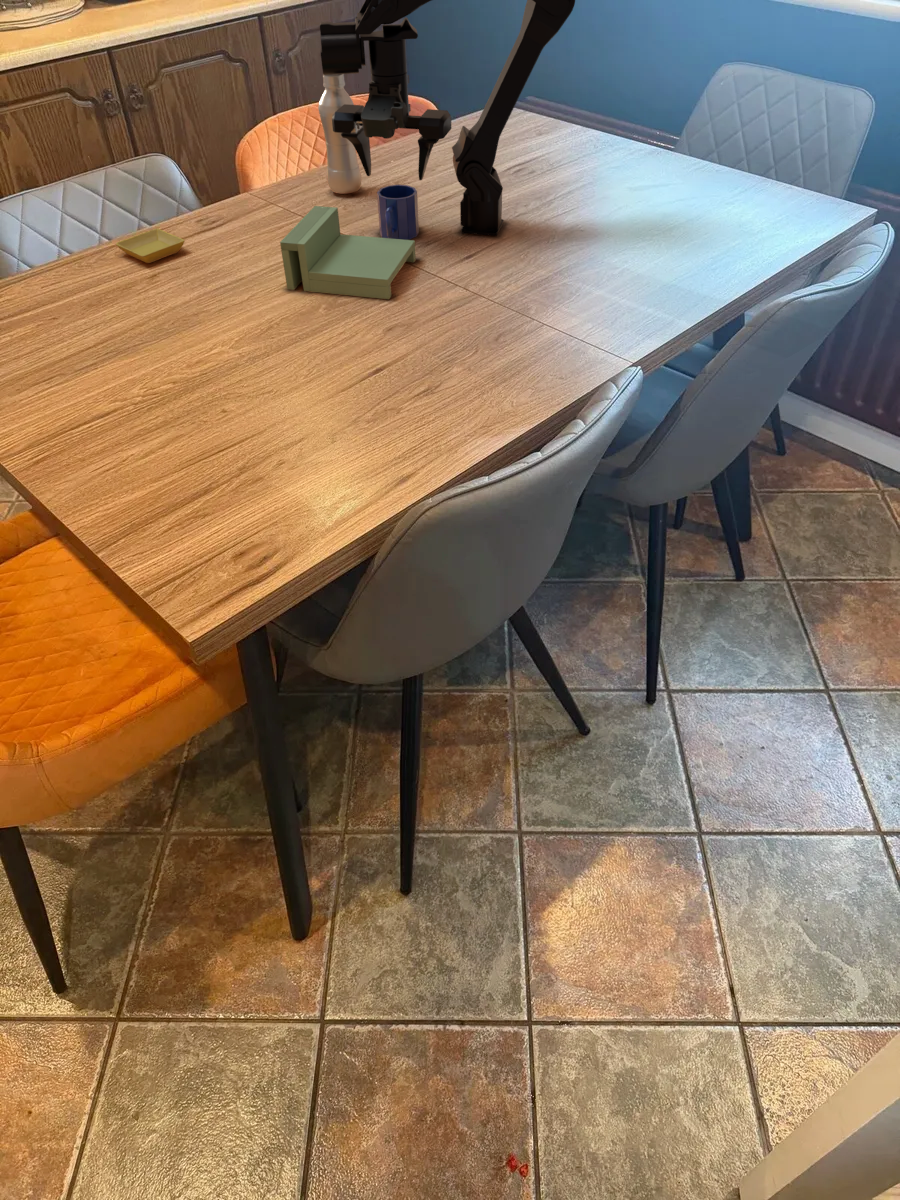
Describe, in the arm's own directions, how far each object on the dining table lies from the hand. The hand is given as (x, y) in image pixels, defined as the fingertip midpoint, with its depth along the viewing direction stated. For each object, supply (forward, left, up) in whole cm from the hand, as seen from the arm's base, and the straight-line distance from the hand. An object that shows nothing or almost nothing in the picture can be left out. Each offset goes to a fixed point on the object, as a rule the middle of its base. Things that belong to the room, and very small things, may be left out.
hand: (394, 177), depth 145 cm
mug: (0, +1, -9) cm, 9 cm away
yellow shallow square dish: (+39, +17, -10) cm, 44 cm away
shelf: (+2, +17, -9) cm, 20 cm away
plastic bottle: (+16, -17, -10) cm, 25 cm away
